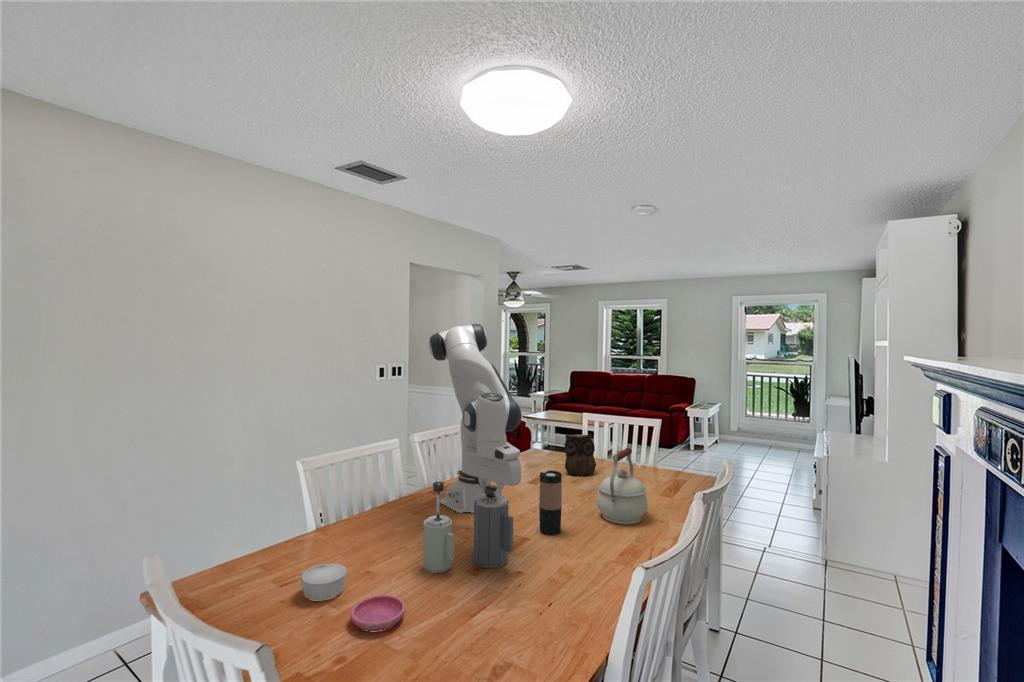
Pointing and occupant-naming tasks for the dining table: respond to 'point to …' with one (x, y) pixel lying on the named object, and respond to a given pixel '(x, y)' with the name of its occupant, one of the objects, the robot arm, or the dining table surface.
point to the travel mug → (550, 502)
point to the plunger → (490, 492)
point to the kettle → (622, 494)
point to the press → (492, 532)
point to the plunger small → (438, 495)
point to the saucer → (377, 612)
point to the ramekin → (323, 581)
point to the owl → (579, 455)
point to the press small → (438, 544)
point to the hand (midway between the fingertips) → (491, 494)
